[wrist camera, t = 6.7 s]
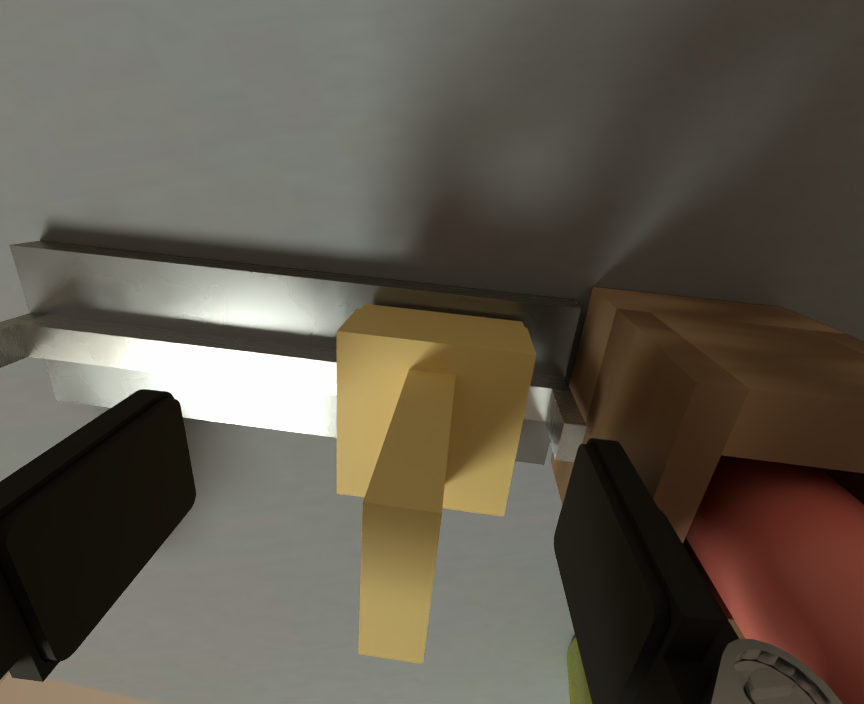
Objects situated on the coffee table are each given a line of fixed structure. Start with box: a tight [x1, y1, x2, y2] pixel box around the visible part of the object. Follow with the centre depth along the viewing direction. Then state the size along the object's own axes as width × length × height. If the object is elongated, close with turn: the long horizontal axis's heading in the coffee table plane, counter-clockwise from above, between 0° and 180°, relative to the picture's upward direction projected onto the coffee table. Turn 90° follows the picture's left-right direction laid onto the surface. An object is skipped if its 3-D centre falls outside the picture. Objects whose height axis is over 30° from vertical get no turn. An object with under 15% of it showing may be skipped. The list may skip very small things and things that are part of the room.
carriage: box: [337, 304, 536, 664], centre depth 11 cm, size 5×5×8 cm
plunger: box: [686, 455, 864, 704], centre depth 8 cm, size 3×3×5 cm
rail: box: [0, 241, 587, 465], centre depth 14 cm, size 19×6×4 cm, turn 85°
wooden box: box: [551, 287, 864, 639], centre depth 12 cm, size 6×7×7 cm
